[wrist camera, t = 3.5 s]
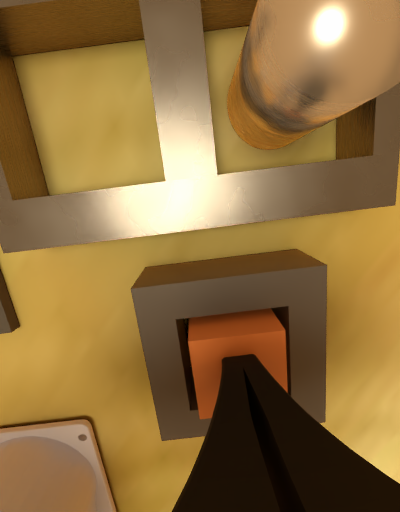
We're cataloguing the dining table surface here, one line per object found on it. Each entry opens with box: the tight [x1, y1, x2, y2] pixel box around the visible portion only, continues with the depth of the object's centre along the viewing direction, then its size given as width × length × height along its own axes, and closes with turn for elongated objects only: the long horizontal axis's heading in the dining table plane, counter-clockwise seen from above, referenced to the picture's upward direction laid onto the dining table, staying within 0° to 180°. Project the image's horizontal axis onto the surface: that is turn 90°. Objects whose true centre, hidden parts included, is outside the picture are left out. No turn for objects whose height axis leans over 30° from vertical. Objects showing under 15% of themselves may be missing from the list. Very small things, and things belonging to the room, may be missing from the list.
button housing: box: [131, 249, 327, 441], centre depth 12 cm, size 8×8×3 cm
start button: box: [188, 308, 288, 419], centre depth 11 cm, size 4×4×3 cm
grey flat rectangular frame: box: [0, 0, 400, 253], centre depth 10 cm, size 10×16×2 cm, turn 97°
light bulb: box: [227, 0, 400, 150], centre depth 8 cm, size 4×4×6 cm
